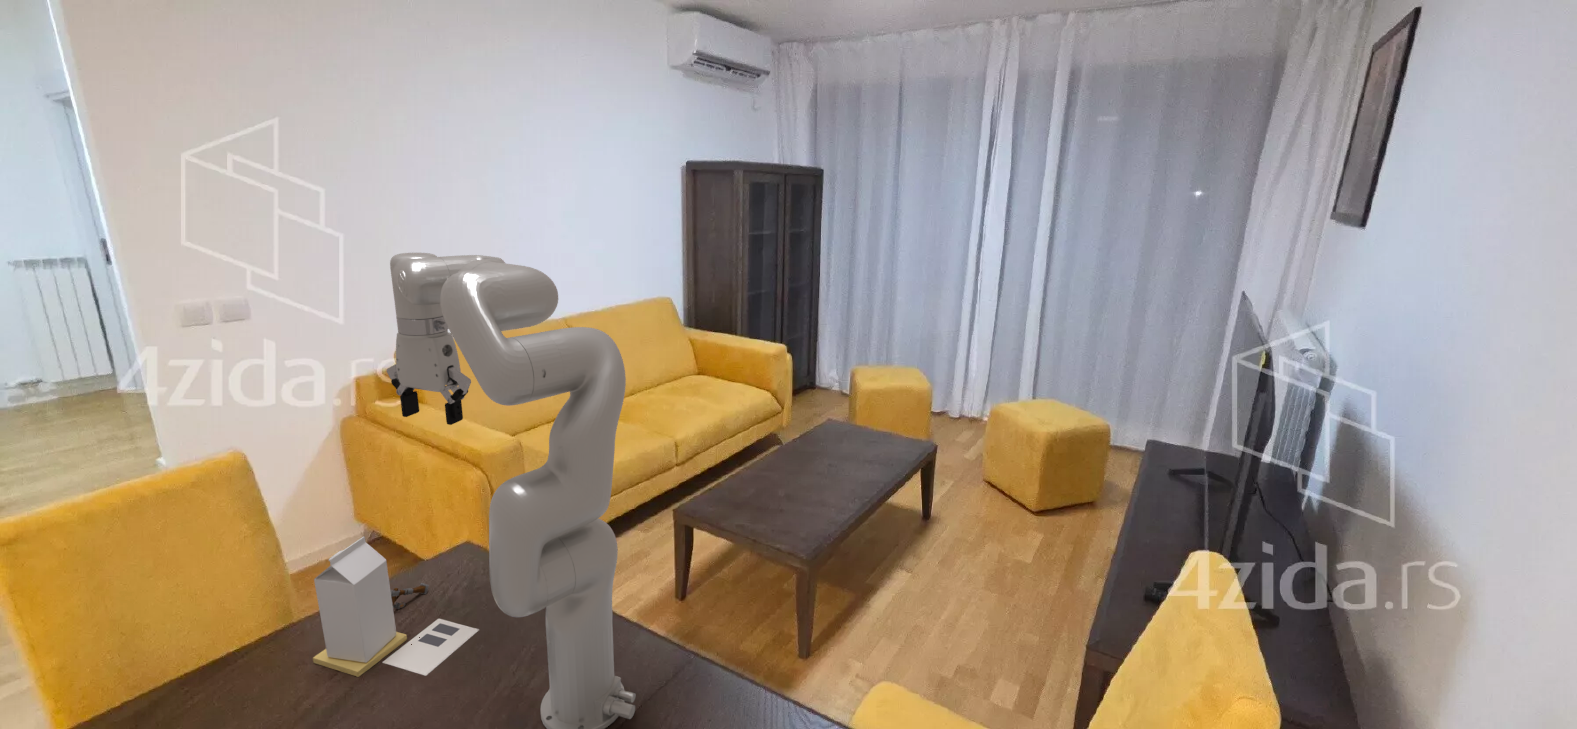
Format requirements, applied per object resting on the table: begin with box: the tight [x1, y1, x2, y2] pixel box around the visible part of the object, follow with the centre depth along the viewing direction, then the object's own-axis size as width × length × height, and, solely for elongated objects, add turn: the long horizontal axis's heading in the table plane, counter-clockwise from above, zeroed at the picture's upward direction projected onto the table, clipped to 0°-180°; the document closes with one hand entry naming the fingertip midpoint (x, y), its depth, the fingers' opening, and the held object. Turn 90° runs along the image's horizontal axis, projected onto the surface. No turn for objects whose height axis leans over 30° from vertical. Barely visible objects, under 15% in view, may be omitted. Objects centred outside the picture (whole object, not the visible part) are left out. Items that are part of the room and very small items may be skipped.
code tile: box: [382, 618, 480, 677], centre depth 113 cm, size 9×12×1 cm
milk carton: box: [313, 536, 397, 663], centre depth 108 cm, size 7×7×19 cm
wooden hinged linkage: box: [390, 582, 430, 610], centre depth 123 cm, size 2×8×4 cm, turn 160°
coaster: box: [312, 631, 408, 678], centre depth 111 cm, size 10×10×1 cm
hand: (432, 418), depth 117 cm, fingers open, 9 cm apart
